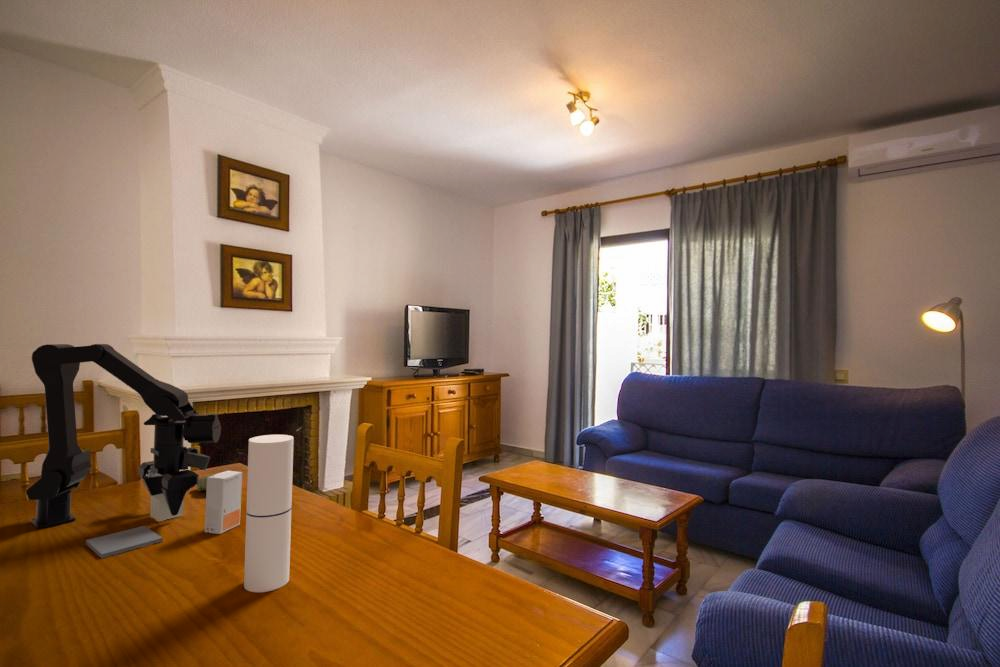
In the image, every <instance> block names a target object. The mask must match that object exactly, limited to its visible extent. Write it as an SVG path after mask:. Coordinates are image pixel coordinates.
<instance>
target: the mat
mask: <svg viewBox="0 0 1000 667" xmlns="http://www.w3.org/2000/svg"><path fill="white" fill-rule="evenodd" d="M158 542H160V543H163V537H162V536H160V535H159V534H158V533H156V532H154V531H153V530H152V529H150V528H149V527H147V526H145V525H142V526H139V527H134V528H131V529H125V530H122V531H118V532H113V533H109V534H106V535H102V536H97V537H94V538H89V539H86V540H85V545H86V546H87V547H88V548H89V549H90V550H92V551H93V552H94V553H95V554H96V555H97V557H99V558H100V559H104V558H109V557H113V556H116V555H119V553H120V554H123V553H126V552H125V551H127V552H129V551H128V550H131V551H133V550H132V549H134V550H136V549H135V548H138V549H140V548H139V547H142V548H144V547H143V546H145V547H148V546H147V545H149V546H151V545H150V544H153V545H155V544H154V543H156V544H159V543H158ZM122 552H123V553H122ZM112 555H113V556H112Z"/></svg>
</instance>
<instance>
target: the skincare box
mask: <svg viewBox="0 0 1000 667" xmlns="http://www.w3.org/2000/svg"><path fill="white" fill-rule="evenodd" d="M214 474H215V475H213V476H210V477H207V489H206V490H205V491H206V492H205V494H206V496H205V515H204V533H207V532H209V534H216V535H221V534H223V533H225V532H227V531H229V530H231V529H233V528H235V527H238V526H239V525H240V524H241V509H242V508H241V506H242V486H243V472H242V471H236V470H235V471H234V470H233V471H232V470H226V471H223V472H218V474H216V473H214Z"/></svg>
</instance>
